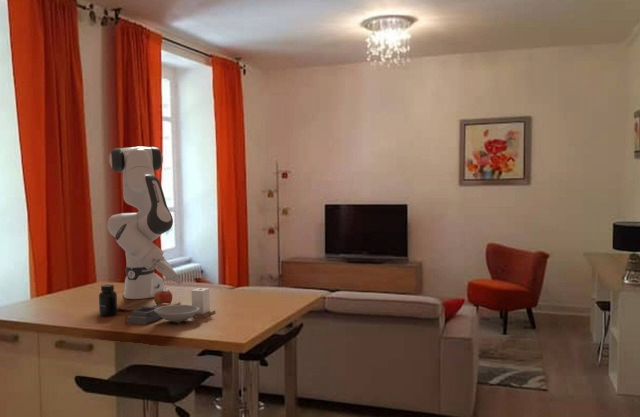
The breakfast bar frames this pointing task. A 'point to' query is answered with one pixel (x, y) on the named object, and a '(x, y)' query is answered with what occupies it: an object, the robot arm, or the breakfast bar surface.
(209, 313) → the cork pad
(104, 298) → the supplement bottle
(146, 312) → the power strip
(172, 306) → the dish
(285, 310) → the breakfast bar surface
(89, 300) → the breakfast bar surface
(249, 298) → the breakfast bar surface
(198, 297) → the block
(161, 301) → the apple
